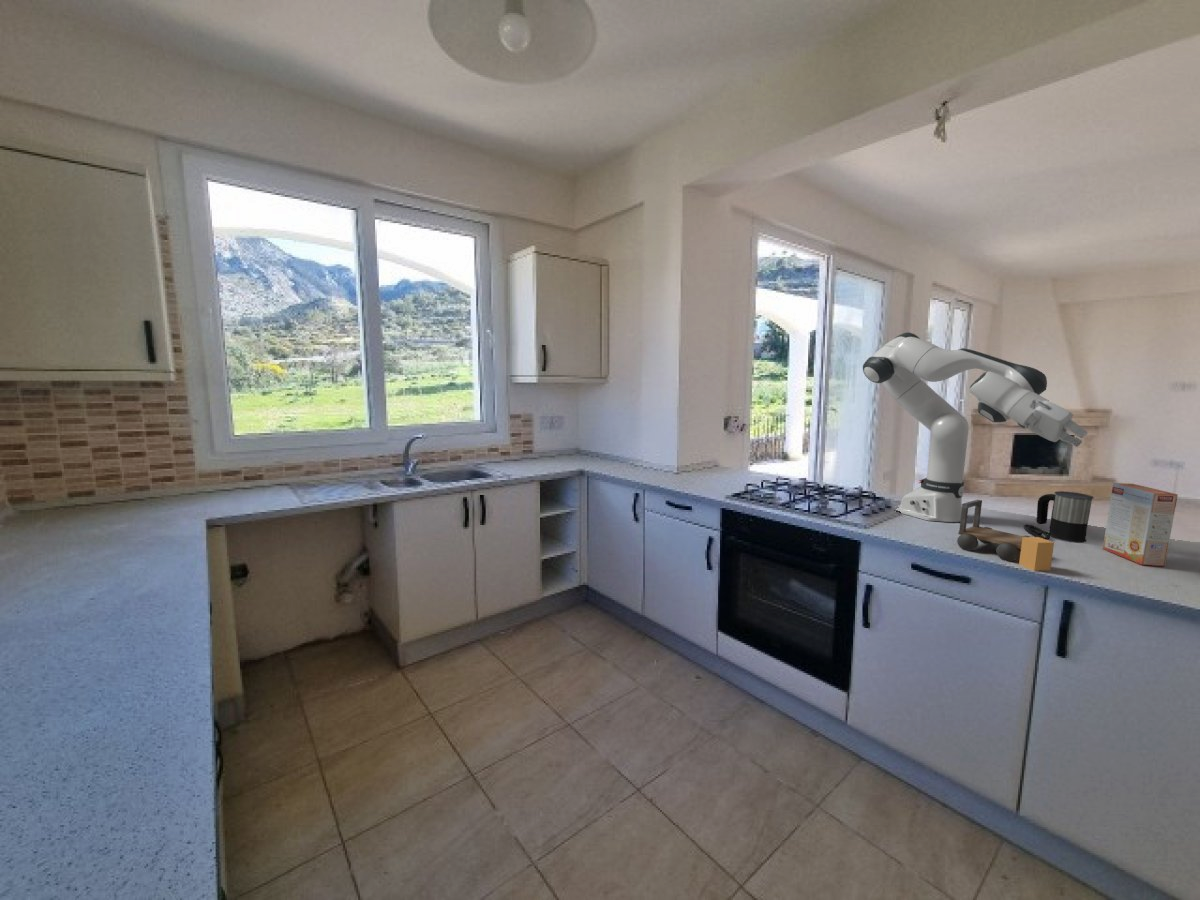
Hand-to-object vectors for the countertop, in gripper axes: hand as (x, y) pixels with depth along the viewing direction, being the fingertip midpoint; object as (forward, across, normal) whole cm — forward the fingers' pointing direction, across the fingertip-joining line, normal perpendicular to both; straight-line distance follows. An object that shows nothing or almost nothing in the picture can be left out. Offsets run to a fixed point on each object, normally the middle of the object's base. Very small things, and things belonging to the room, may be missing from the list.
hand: (1082, 439), depth 133 cm
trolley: (+6, +14, +35) cm, 38 cm away
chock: (+15, +5, +33) cm, 37 cm away
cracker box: (+28, +32, +12) cm, 44 cm away
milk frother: (+12, +41, +19) cm, 47 cm away
